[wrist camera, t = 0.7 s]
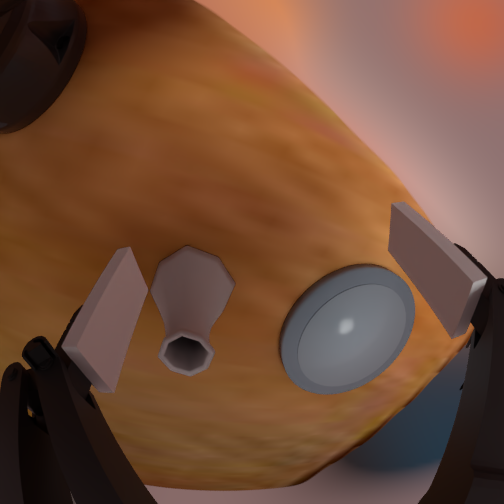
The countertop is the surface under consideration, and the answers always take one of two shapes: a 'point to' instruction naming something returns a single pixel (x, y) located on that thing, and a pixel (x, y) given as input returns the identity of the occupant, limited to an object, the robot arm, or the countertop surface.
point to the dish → (346, 329)
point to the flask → (190, 306)
